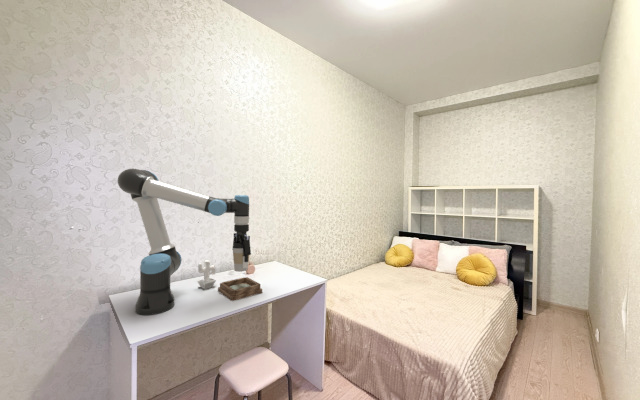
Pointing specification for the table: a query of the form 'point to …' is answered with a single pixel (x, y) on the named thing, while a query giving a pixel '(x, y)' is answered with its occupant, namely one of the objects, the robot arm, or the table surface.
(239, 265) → the coffee cup
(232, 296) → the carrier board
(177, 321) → the table surface
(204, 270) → the figurine
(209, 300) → the table surface
